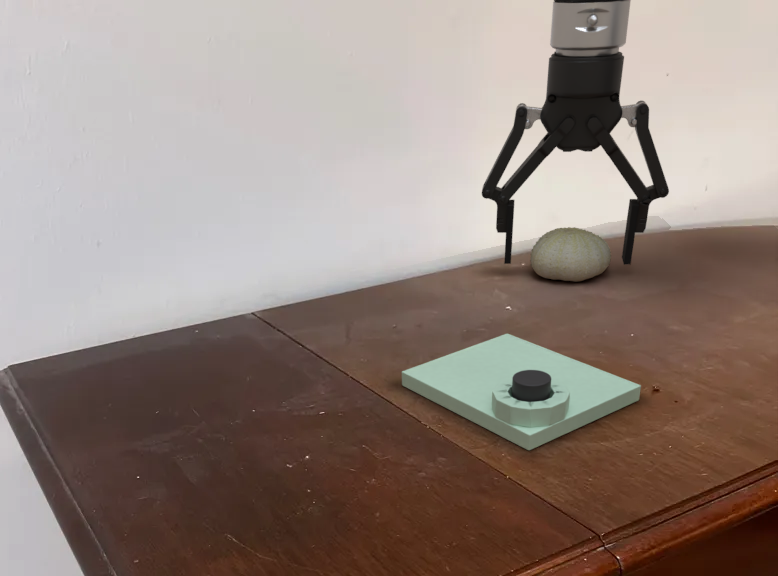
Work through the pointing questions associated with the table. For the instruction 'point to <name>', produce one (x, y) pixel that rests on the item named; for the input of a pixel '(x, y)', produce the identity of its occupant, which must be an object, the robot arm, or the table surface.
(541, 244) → the sea urchin shell
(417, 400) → the table surface
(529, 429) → the scale
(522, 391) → the power button
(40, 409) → the table surface
